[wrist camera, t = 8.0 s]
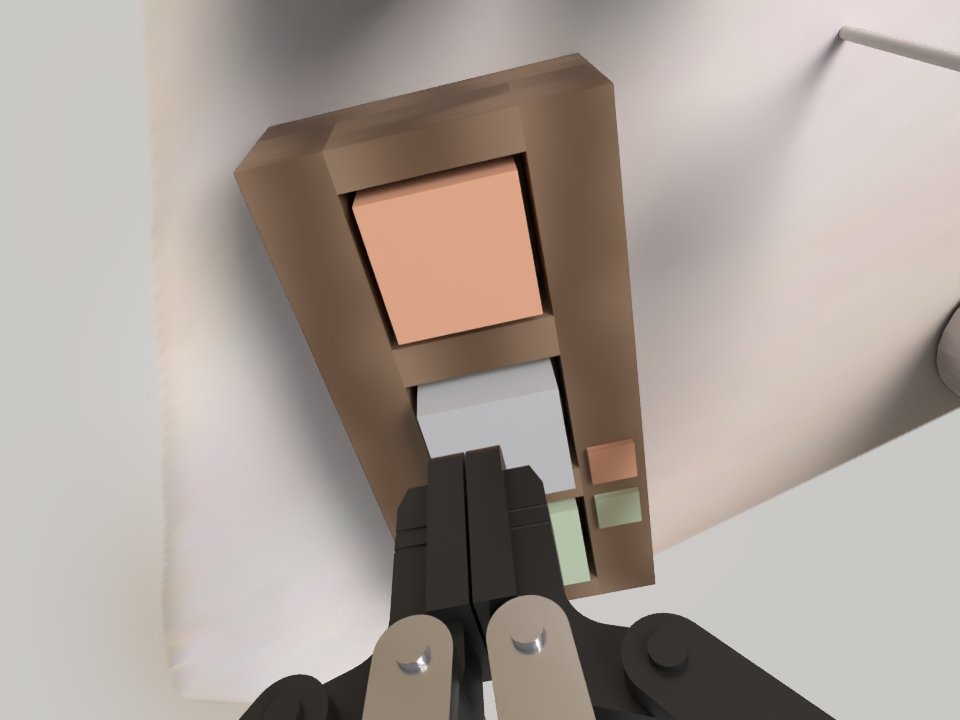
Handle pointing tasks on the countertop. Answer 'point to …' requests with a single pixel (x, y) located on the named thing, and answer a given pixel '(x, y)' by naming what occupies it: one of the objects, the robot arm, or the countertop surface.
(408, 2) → the countertop surface
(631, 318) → the wooden compartment tray
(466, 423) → the grey key
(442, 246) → the terracotta key
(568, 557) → the sage key
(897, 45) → the lollipop
